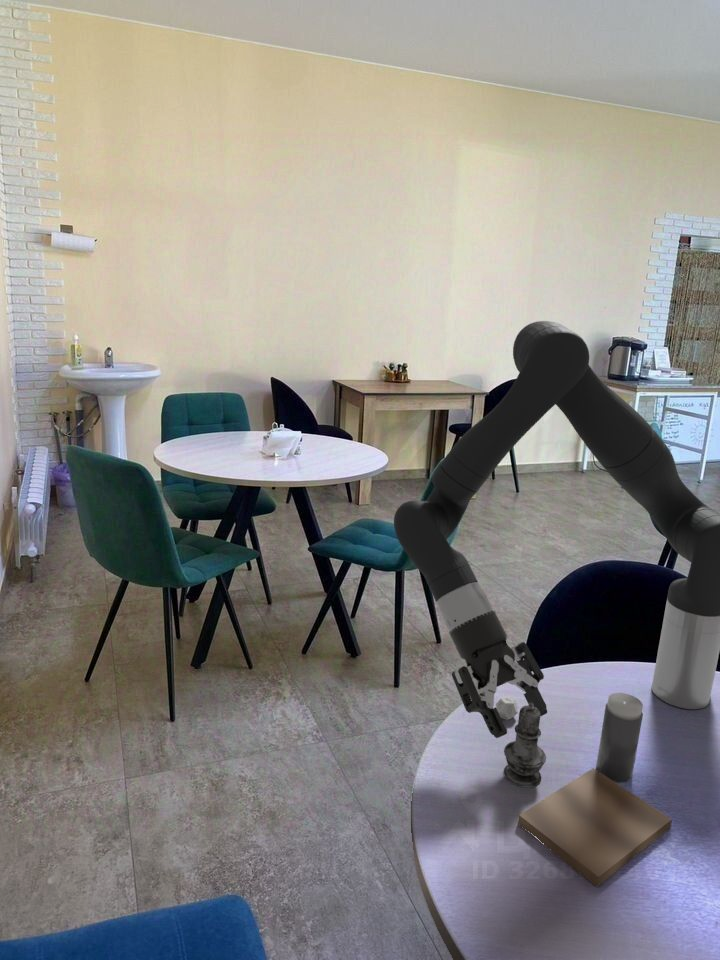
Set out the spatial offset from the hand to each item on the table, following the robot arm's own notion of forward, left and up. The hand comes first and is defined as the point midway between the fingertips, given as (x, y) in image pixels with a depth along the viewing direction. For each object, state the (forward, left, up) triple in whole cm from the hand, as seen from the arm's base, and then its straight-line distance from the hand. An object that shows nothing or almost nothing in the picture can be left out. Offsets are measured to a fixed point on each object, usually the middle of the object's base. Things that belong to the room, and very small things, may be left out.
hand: (522, 725), depth 100 cm
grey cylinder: (-12, +8, -8) cm, 16 cm away
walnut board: (0, +13, -8) cm, 15 cm away
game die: (-9, -10, -8) cm, 16 cm away
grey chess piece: (0, +1, -8) cm, 8 cm away
